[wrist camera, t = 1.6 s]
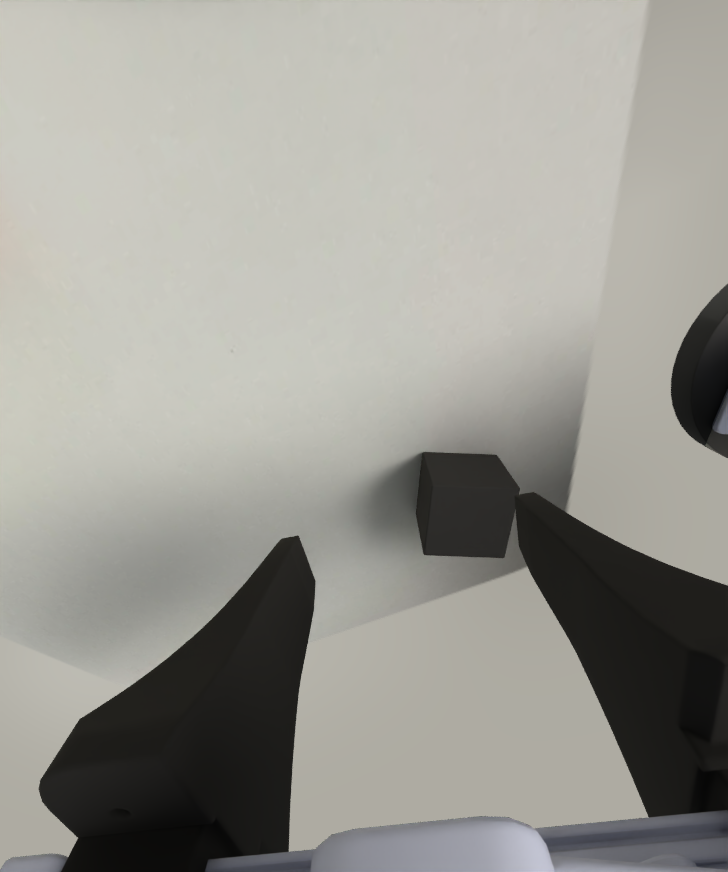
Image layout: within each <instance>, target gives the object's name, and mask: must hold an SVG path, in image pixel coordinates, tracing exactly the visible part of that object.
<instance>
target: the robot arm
mask: <svg viewBox="0 0 728 872" xmlns="http://www.w3.org/2000/svg"><path fill="white" fill-rule="evenodd" d="M712 428H713V430H714V431H715V432H718V433H720V434H728V389H727V392H726V394H725V396H724V399H723V401H722V403H721V406H720V408H719V410H718V413H717V415H716V417H715V420H714V422H713V425H712ZM514 498H515V509H516V519H517V530H518V541H519V547H520V550H521V552H522V554H523V557H524V559H525V562H526V564H527V566H528V568H529V571H530V573H531V575H532V577H533V578H534V580H535V582H536V584H537V585H538V587H539V589H540V591H541V592H542V594H543V596H544V598H545V599H546V601H547V603H548V604H549V606H550V608H551V609H552V611H553V613H554V614H555V616H556V618H557V620H558V621H559V623H560V625H561V626H562V628H563V630H564V631H565V633H566V635H567V637H568V638H569V640H570V642H571V644H572V646H573V648H574V649H575V651H576V653H577V655H578V657H579V659H580V661H581V663H582V666H583V668H584V670H585V672H586V674H587V676H588V678H589V680H590V683H591V685H592V687H593V689H594V691H595V694H596V696H597V698H598V700H599V703H600V704H601V707H602V709H603V711H604V714H605V716H606V718H607V720H608V722H609V725H610V727H611V729H612V731H613V734H614V736H615V738H616V741H617V743H618V745H619V748H620V750H621V752H622V755H623V757H624V759H625V762H626V764H627V766H628V768H629V771H630V773H631V775H632V778H633V780H634V783H635V785H636V788H637V790H638V792H639V795H640V797H641V799H642V802H643V805H644V807H645V809H646V812H647V814H648V817H649V818H639V819H628V820H618V821H608V822H597V823H586V824H576V825H565V826H555V827H544V828H532V827H531V826H530V825H528V824H525V823H522V822H520V821H517V820H514V819H512V818H509V817H488V816H487V817H486V816H479V817H468V818H458V819H448V820H439V821H428V822H418V823H408V824H399V825H389V826H379V827H369V828H358V829H352V830H348V831H344V832H341V833H336V834H332V835H331V836H329V837H328V838H327V839H326V840H325V841H323V842H322V843H321V844H320V845H319V846H318V847H317V848H316V849H314V850H304V851H293V852H289V850H288V849H289V820H290V798H291V780H292V763H293V750H294V737H295V724H296V714H297V704H298V693H299V687H300V680H301V674H302V669H303V664H304V659H305V654H306V649H307V643H308V638H309V633H310V628H311V622H312V617H313V611H314V599H315V579H314V576H313V573H312V571H311V568H310V565H309V562H308V560H307V557H306V554H305V552H304V549H303V546H302V544H301V541H300V538H299V536H294V537H288V538H283V539H281V540H280V541H279V542H278V543H277V545H276V546H275V547H274V548H273V549H272V551H271V552H270V553H269V554H268V556H267V557H266V558H265V559H264V561H263V562H262V563H261V564H260V566H259V567H258V568H257V569H256V571H255V572H254V573H253V574H252V575H251V577H250V578H249V579H248V580H247V582H246V583H245V584H244V585H243V586H242V587H241V588H240V589H239V591H238V592H237V593H236V594H235V595H234V596H233V597H232V598H231V600H230V601H229V602H228V603H227V604H226V605H225V606H224V607H223V608H222V609H221V610H220V611H219V612H218V613H217V614H216V615H215V616H214V617H213V619H211V620H210V621H209V622H208V623H207V624H206V625H205V626H204V627H203V628H202V629H201V630H200V631H199V632H198V633H197V634H196V635H194V636H193V637H192V638H191V639H190V640H189V641H187V642H186V643H185V644H184V645H183V646H182V647H180V648H179V649H178V650H177V651H176V652H174V653H173V654H172V655H171V656H170V657H169V658H167V659H166V660H165V661H164V662H162V663H161V664H160V665H158V666H157V667H156V668H154V669H153V670H152V671H151V672H149V673H148V674H146V675H145V676H144V677H142V678H141V679H140V680H138V681H137V682H135V683H134V684H133V685H131V686H130V687H128V688H127V689H126V690H124V691H123V692H121V693H120V694H118V695H117V696H115V697H114V698H112V699H110V700H109V701H107V702H106V703H104V704H103V705H101V706H100V707H98V708H97V709H95V710H94V711H92V712H90V713H89V714H87V715H86V716H84V717H82V718H81V719H80V720H79V721H78V723H77V724H76V726H75V727H74V729H73V730H72V732H71V734H70V735H69V737H68V738H67V740H66V741H65V743H64V744H63V746H62V747H61V749H60V751H59V752H58V754H57V755H56V757H55V758H54V760H53V762H52V763H51V764H50V766H49V768H48V769H47V771H46V772H45V774H44V775H43V777H42V778H41V780H40V785H39V792H40V796H41V799H42V802H43V803H44V804H45V806H47V808H48V809H49V810H50V811H51V812H52V813H53V814H54V815H55V816H56V817H57V818H58V819H59V820H60V821H61V822H62V823H63V824H64V825H65V826H66V827H67V828H68V829H69V830H71V831H72V832H73V833H74V834H75V835H76V836H77V837H78V840H77V842H76V844H75V845H74V847H73V849H72V851H71V853H70V855H69V857H66V856H64V855H59V854H42V855H32V856H23V857H13V858H10V859H8V860H7V861H6V862H5V863H4V865H3V866H2V868H1V870H0V872H728V586H727V585H724V584H721V583H718V582H715V581H712V580H709V579H706V578H703V577H700V576H697V575H695V574H692V573H689V572H687V571H684V570H681V569H678V568H676V567H673V566H671V565H668V564H665V563H663V562H660V561H658V560H656V559H654V558H651V557H649V556H647V555H645V554H642V553H640V552H638V551H635V550H633V549H631V548H629V547H627V546H625V545H623V544H621V543H619V542H617V541H615V540H613V539H611V538H609V537H608V536H606V535H604V534H602V533H600V532H598V531H596V530H594V529H593V528H591V527H589V526H587V525H586V524H584V523H582V522H581V521H579V520H577V519H576V518H574V517H572V516H571V515H569V514H567V513H566V512H564V511H563V510H561V509H560V508H558V507H556V506H555V505H553V504H552V503H550V502H549V501H547V500H546V499H544V498H543V497H541V496H539V495H538V494H536V493H535V492H531V493H526V494H520V495H515V496H514Z"/></svg>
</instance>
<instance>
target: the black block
mask: <svg viewBox="0 0 728 872" xmlns="http://www.w3.org/2000/svg"><path fill="white" fill-rule="evenodd" d="M519 491H520V488H519V486H518V485H517V484H516V482H515V481H514V479H513V478H512V476H511V475H510V473H509V472H508V471H507V469H506V468H505V466H504V465H503V463H502V462H501V460H500V459H499V457H498V456H497V455H486V454H459V453H432V452H423V453H422V461H421V471H420V480H419V490H418V499H417V509H416V517H417V522H418V527H419V532H420V538H421V543H422V548H423V553H424V555H435V556H463V557H490V558H504V557H505V553H506V548H507V544H508V540H509V535H510V531H511V526H512V522H513V518H514V513H515V498H514V496H515V495H519Z"/></svg>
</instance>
